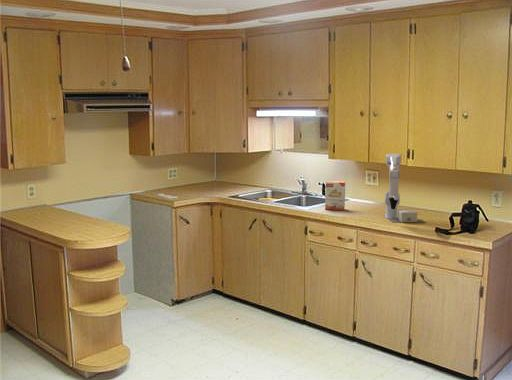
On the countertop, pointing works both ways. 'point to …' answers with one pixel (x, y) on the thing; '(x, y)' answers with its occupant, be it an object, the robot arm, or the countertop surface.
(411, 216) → the light bulb box
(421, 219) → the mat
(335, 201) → the cracker box
